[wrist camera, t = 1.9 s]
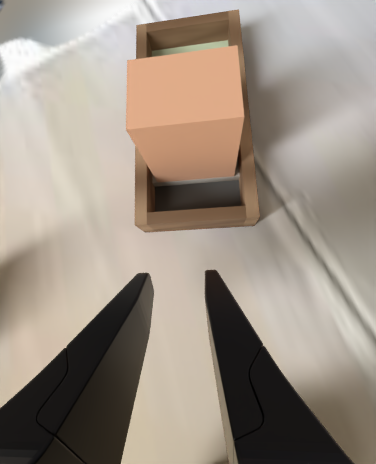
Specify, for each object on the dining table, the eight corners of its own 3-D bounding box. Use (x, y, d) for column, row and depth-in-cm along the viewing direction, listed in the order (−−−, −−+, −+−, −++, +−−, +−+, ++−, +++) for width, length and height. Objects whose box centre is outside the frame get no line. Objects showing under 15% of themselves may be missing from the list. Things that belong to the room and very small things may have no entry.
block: (234, 176, 22) (244, 116, 14) (157, 182, 22) (126, 129, 14) (230, 126, 23) (237, 45, 15) (157, 134, 23) (127, 60, 15)
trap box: (254, 225, 22) (259, 217, 19) (145, 232, 23) (134, 225, 20) (236, 40, 26) (238, 9, 23) (145, 53, 27) (136, 25, 24)
